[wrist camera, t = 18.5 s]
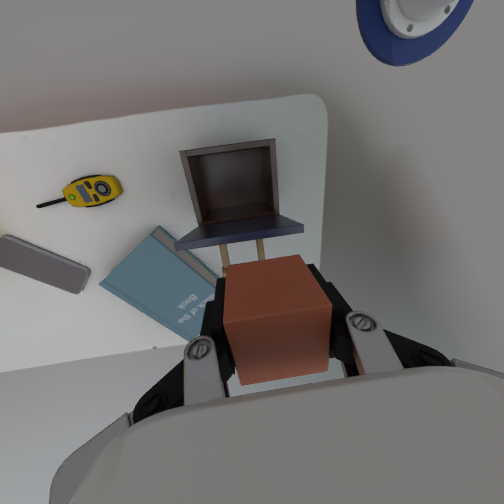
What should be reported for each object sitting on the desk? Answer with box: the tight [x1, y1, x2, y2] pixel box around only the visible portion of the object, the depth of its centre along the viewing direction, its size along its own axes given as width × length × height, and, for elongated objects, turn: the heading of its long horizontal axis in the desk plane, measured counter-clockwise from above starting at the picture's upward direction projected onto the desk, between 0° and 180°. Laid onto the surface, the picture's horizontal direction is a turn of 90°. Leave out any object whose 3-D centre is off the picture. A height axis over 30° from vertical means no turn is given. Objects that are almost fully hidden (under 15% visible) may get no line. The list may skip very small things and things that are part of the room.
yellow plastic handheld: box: [36, 175, 122, 208], centre depth 34 cm, size 5×2×15 cm
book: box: [99, 226, 219, 342], centre depth 42 cm, size 23×16×5 cm
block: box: [223, 255, 332, 386], centre depth 11 cm, size 4×4×4 cm
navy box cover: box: [174, 215, 304, 278], centre depth 25 cm, size 11×13×5 cm
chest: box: [179, 138, 280, 226], centre depth 32 cm, size 11×13×9 cm
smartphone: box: [0, 235, 90, 294], centre depth 39 cm, size 7×1×15 cm
